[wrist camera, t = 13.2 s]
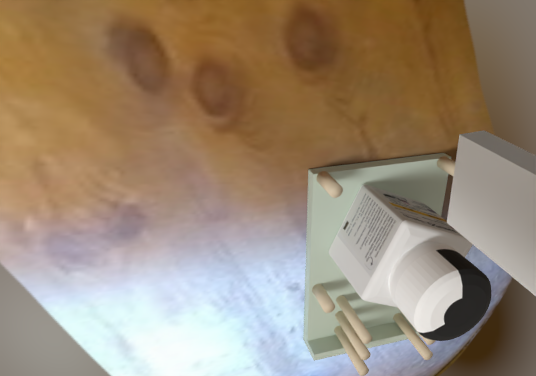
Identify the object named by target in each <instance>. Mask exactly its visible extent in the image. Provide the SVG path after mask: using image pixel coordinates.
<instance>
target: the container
mask: <svg viewBox="0 0 536 376" xmlns="http://www.w3.org/2000/svg"><path fill="white" fill-rule="evenodd" d="M471 247H472V243H471V242H470V241H468V240H467V239H466V238H465V237H464V236H462V235H461V234H460V233H459V232H458V231H456V230H455V229H454V228H453V227H451V226H450V225H449V224H448V223H447V221H446V220H445V219H444V218H442V217H441V216H440V215H439V214H437V213H436V212H435V211H433V210H432V209H431V208H430V207H428V206H427V205H426V204H424V203H422V202H419V201H416V200H413V199H410V198H407V197H404V196H400V195H397V194H394V193H391V192H388V191H385V190H382V189H379V188H376V187H373V186H369V185H366V184H363V185H362V186H361V187H360V189H359V191H358V193H357V195H356V197H355V199H354V201H353V203H352V205H351V207H350V209H349V211H348V213H347V215H346V217H345V219H344V221H343V223H342V225H341V227H340V229H339V231H338V233H337V235H336V237H335V239H334V241H333V243H332V245H331V247H330V249H329V251H328V252H329V255H330V256H331V257H332V259H333V260H334V261H335V263H336V264H337V266H338V267H339V268H340V270H341V271H342V272H343V274H344V275H345V277H346V278H347V279H348V281H349V282H350V283H351V285H352V286H353V288H354V289H355V290H356V292H357V293H358V294H359V296H360V297H361V299H363V300H364V301H368V302H373V303H378V304H383V305H388V306H393V307H398V308H399V309H400V311H401V312H402V313H403V314H404V316H405V317H406V318H407V319H408V320H409V322H410V323H411V324H412V325H413V327H414V328H415V329H416V330H417V331H418V333H419V334H420V335H421V336H423V337H424V338H427V339H430V340H437V341H445V340H450V339H454V338H456V337H459V336H461V335H463V334H465V333H466V332H468V331H469V330H470V329H472V328H473V327H474V326H475V325H476V324H477V323H478V322H479V321H480V320H481V319H482V317H483V316H484V314H485V313H486V311H487V309H488V307H489V304H490V300H491V285H490V281H489V279H488V278H487V276H486V275H485V274H484V273H482V272H481V271H480V270H479V269H478V268H477V267H475V266H474V265H473V264H472V263H471V262H469V261H468V260H467V259H466V258H465V256H466V255H467V253H468V252H469V250H470V248H471Z"/></svg>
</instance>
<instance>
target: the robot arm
mask: <svg viewBox="0 0 536 376" xmlns="http://www.w3.org/2000/svg"><path fill="white" fill-rule="evenodd" d="M447 223H448V224H449V225H450V226H451V227H453V228H454V229H455V230H456V231H458V232H459V233H460V234H461V235H462V236H464V237H465V238H466V239H467V240H468V241H470V242H471V243H472V244H473V245H474V246H476V247H477V248H478V249H479V250H481V251H482V252H483V253H484V254H485V255H487V256H488V257H489V258H490V259H491V260H493V261H494V262H495V263H496V264H497V265H499V266H500V267H501V268H502V269H504V270H505V271H506V272H507V273H508V274H510V275H511V276H512V277H513V278H514V279H516V280H517V281H518V282H520V284H522V285H523V286H524V287H525V288H527V289H528V290H529V291H530V292H532V293H533V294H534V295H535V296H536V155H533V154H532V153H530V152H528V151H525V150H523V149H521V148H519V147H517V146H515V145H513V144H511V143H509V142H507V141H504V140H503V139H500V138H499V137H496V136H494V135H492V134H490V133H488V132H486V131H479V132H473V133H466V134H460V135H459V142H458V149H457V156H456V162H455V169H454V176H453V183H452V190H451V197H450V204H449V210H448V217H447Z"/></svg>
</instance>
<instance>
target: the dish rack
mask: <svg viewBox="0 0 536 376" xmlns="http://www.w3.org/2000/svg"><path fill="white" fill-rule="evenodd" d="M454 169H455V162H454V161H453V160H451V157H450V156H448V155H447V154H445V153H438V154H430V155H421V156H413V157H405V158H397V159H389V160H380V161H372V162H364V163H356V164H347V165H339V166H331V167H323V168H315V169H309V171H308V204H307V236H306V269H305V301H304V334H303V339H304V341H305V343H306V345H307V347H308V349H309V352H310V354H311V356H312V358H313V360H318V359H323V358H327V357H332V356H336V355H340V354H345V353H347V354H348V356H349V358H350V359H351V361H352V363H353V364H354V366H355V368H356V369H357V371H358V373H359V375H361V376H363V375H366V374H367V373H368V371H369V369H368V368H367V366H366V364H365V363H364V361H363V360H366V359H368V358H369V357H370V352H369V351H368V349H367V348H371V347H375V346H380V345H384V344H388V343H393V342H397V341H402V340H406V339H409V340H410V341H411V343H412V344H413V345H414V347H415V348H416V349H417V351H418V352H419V353H420V354H421V356H422V357H423V358H424V359H425V360H429V359H430V358H431V357H432V355H433V354H432V352H431V351H430V350H429V348H428V347H427V346H426V345H425V343H424V342H423V341H422V340H421V339H420V337H419V336H421V335H420V334H419V333H418V331H417V330H416V329H415V328H414V327H413V325H412V324H411V323H410V322H409V320H408V319H407V318H406V317H405V316H404V314H403V313H402V312H401V311H400V309H399V308H398V307H393V306H388V305H383V304H378V303H373V302H368V301H364V300H363V299H361V297H360V296H359V294H358V293H357V292H356V290H355V289H354V288H353V286H352V285H351V283H350V282H349V281H348V279H347V278H346V277H345V275H344V274H343V272H342V271H341V270H340V268H339V267H338V266H337V264H336V263H335V261H334V260H333V259H332V257H331V256H330V255H329V252H328V251H329V249H330V247H331V245H332V243H333V241H334V239H335V237H336V235H337V233H338V231H339V229H340V227H341V225H342V223H343V221H344V219H345V217H346V215H347V213H348V211H349V209H350V207H351V205H352V203H353V201H354V199H355V197H356V195H357V193H358V191H359V189H360V187H361V186H362V185H363V184H366V185H369V186H373V187H376V188H379V189H382V190H385V191H388V192H391V193H394V194H397V195H400V196H404V197H407V198H410V199H413V200H416V201H419V202H422V203H424V204H426V205H427V206H428V207H430V208H431V209H432V210H433V211H435V212H436V213H437V214H439V215H440V216H441V214H442V208H443V202H444V197H445V191H446V185H447V179H448V173H449V174H450V175H452V176H454ZM421 337H422V338H423V340H424V341H425V342H426V343H427V344H428V345H431V344H433V343H434V342H435V340H430V339H427V338H424V337H423V336H421Z"/></svg>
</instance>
